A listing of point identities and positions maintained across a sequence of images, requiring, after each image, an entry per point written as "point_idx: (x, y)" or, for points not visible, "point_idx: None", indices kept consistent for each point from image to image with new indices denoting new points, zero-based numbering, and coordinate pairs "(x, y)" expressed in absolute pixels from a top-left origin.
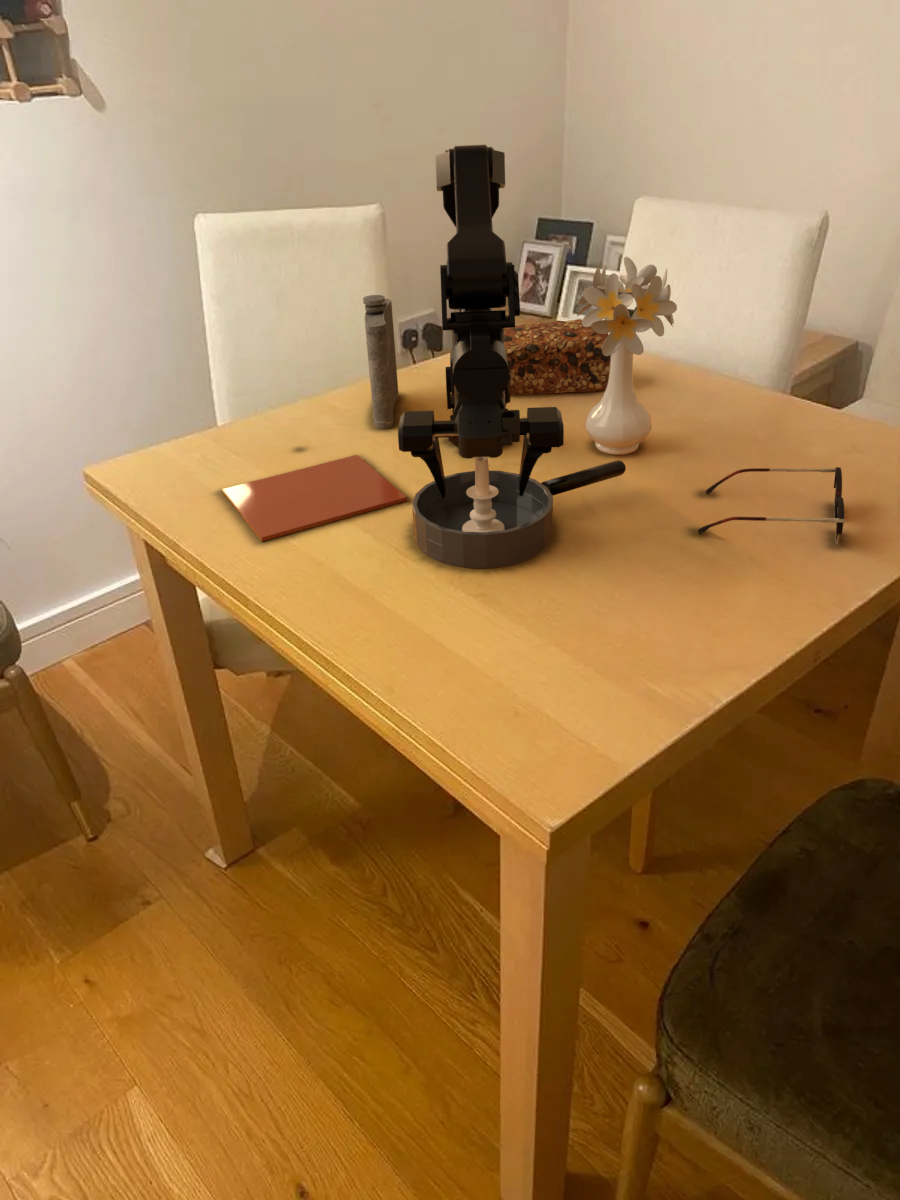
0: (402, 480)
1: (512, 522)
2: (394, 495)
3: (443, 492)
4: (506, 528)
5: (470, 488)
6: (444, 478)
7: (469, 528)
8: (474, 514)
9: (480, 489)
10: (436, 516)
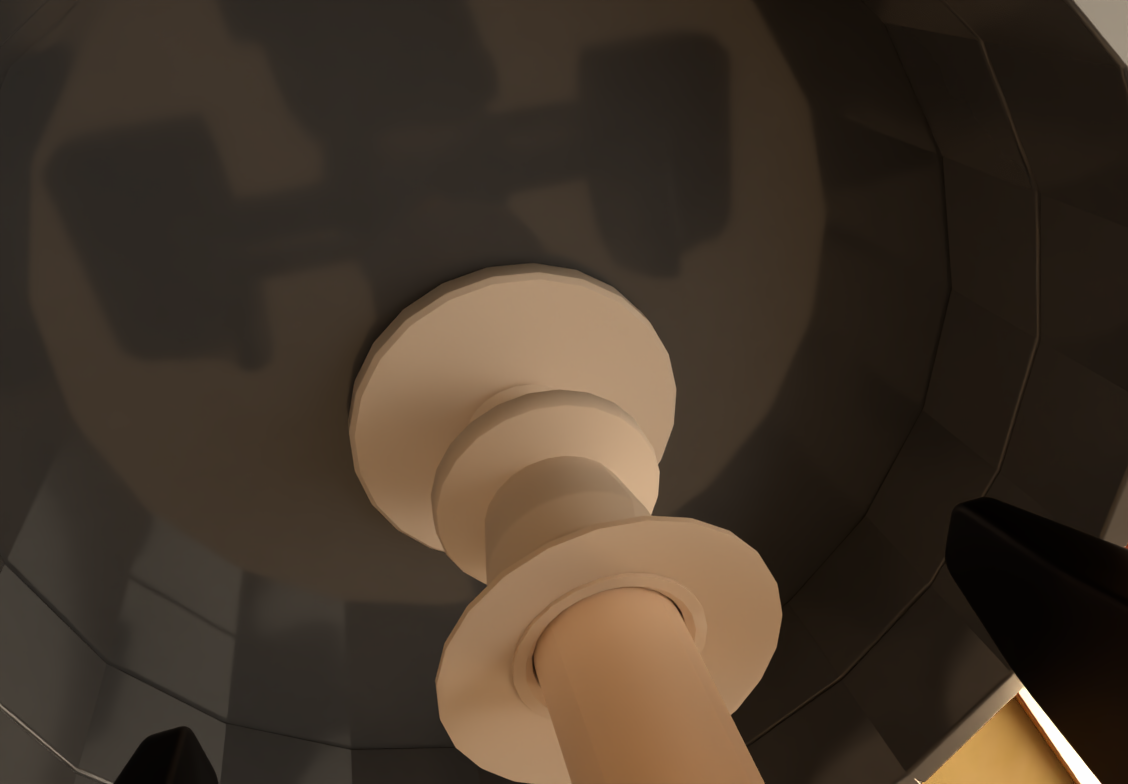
0: (967, 772)
1: (323, 565)
2: None
3: (1025, 528)
4: (347, 483)
5: (738, 686)
6: (1067, 701)
7: (623, 389)
8: (622, 459)
9: (653, 656)
10: (832, 517)
